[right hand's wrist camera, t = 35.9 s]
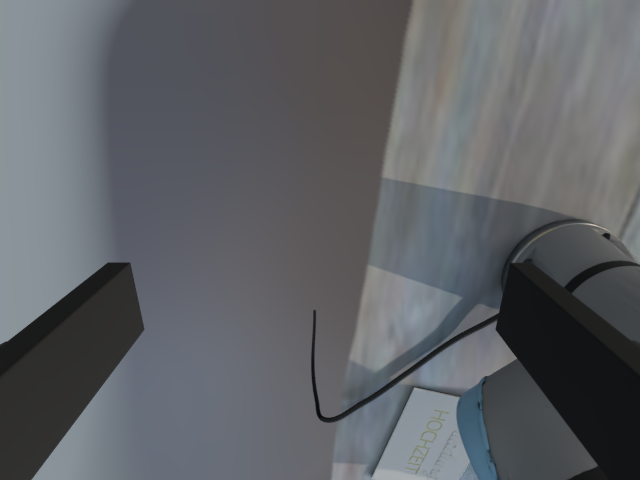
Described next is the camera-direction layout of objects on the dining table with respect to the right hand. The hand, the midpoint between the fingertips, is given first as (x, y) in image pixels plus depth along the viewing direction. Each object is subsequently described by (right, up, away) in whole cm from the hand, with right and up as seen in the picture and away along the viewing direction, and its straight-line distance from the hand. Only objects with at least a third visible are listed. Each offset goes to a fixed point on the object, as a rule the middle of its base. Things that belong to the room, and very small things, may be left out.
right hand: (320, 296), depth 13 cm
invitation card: (+19, -32, +48) cm, 61 cm away
